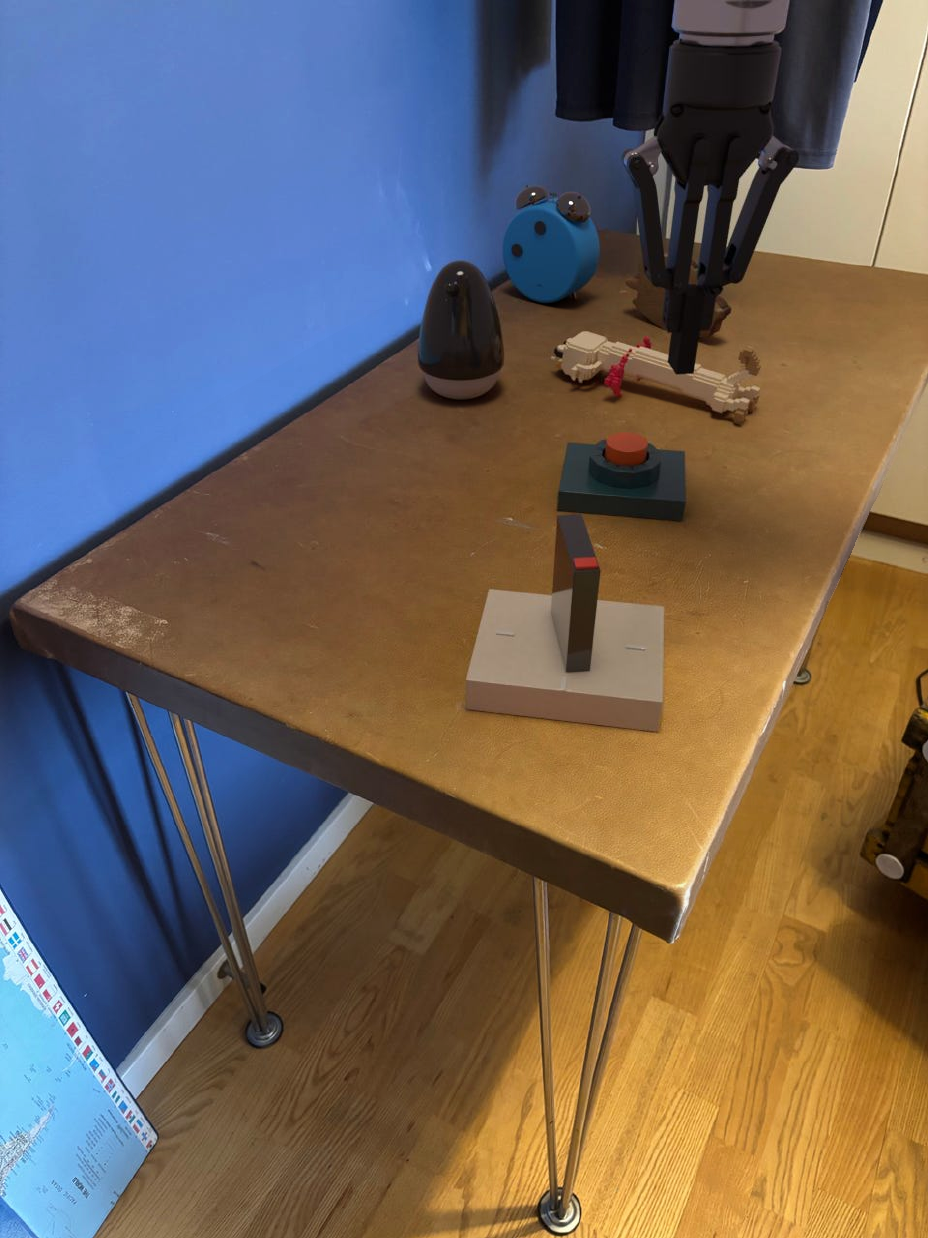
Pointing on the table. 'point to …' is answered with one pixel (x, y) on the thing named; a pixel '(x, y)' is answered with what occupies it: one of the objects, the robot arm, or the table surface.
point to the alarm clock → (550, 245)
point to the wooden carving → (653, 297)
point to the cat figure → (658, 371)
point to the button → (626, 449)
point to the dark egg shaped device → (460, 334)
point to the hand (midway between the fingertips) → (680, 367)
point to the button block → (623, 483)
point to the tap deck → (534, 670)
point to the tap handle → (574, 592)
